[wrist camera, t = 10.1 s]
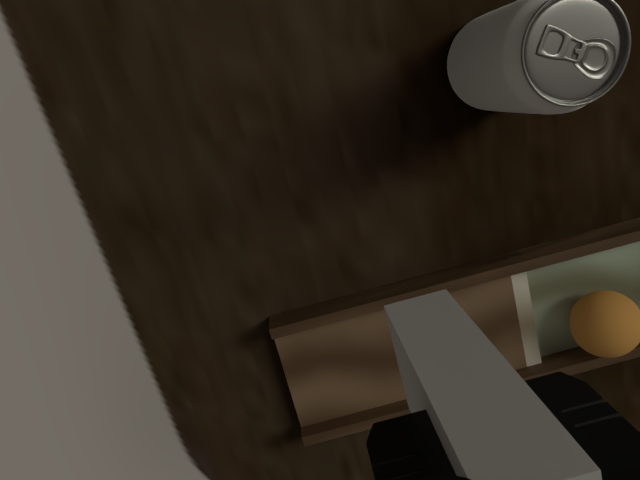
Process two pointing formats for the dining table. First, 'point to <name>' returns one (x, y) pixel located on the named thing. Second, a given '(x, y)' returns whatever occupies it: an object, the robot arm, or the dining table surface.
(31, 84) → the dining table surface
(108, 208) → the dining table surface
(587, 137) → the dining table surface
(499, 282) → the lane
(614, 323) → the ball
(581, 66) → the can
